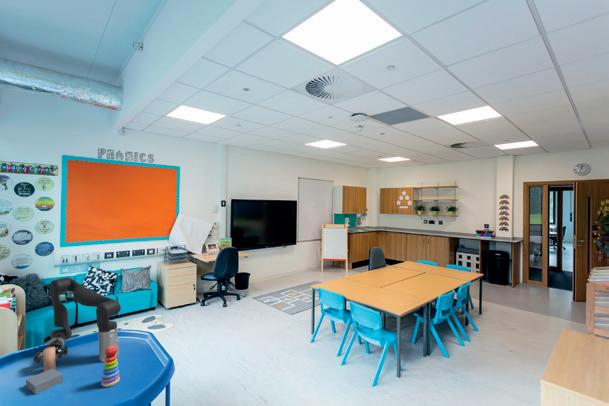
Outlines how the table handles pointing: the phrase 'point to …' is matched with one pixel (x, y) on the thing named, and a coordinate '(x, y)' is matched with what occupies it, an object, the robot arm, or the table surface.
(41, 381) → the slate base block
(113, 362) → the stacking toy
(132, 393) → the table surface
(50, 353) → the terracotta peg
